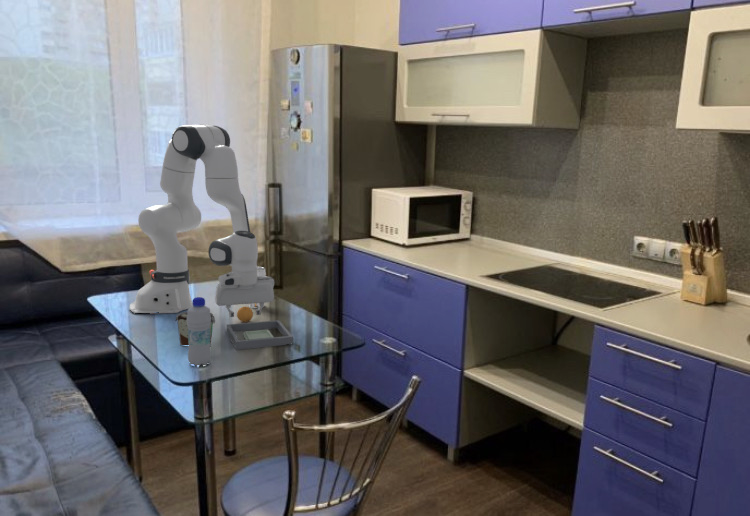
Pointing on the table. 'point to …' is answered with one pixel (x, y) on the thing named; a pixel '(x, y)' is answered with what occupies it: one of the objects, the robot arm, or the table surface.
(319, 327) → the table surface
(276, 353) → the table surface
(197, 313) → the bottle
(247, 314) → the ball
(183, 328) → the food container
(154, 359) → the table surface
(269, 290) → the robot arm
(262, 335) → the resting pad
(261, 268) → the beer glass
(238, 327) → the low wall pen
